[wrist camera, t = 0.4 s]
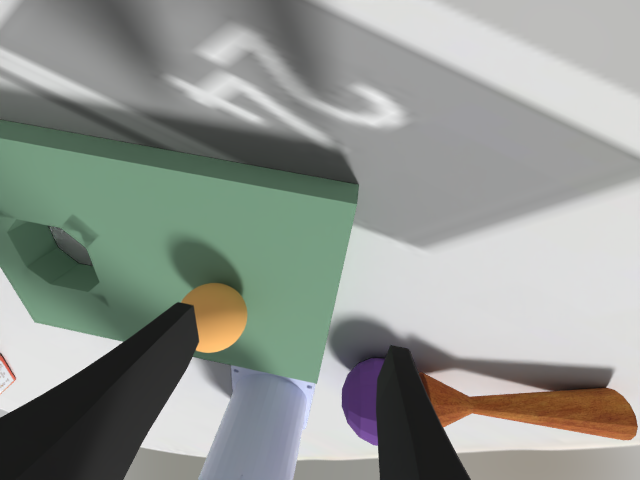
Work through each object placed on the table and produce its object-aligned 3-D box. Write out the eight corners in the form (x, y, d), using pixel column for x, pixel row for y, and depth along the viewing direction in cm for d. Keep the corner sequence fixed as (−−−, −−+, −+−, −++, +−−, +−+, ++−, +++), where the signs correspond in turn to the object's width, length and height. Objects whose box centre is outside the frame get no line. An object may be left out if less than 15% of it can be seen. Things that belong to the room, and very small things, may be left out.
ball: (256, 320, 20) (233, 373, 17) (200, 308, 20) (166, 359, 17) (256, 276, 18) (230, 328, 15) (193, 263, 18) (154, 311, 15)
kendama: (614, 471, 21) (340, 452, 23) (570, 386, 26) (341, 374, 27) (681, 453, 17) (342, 430, 19) (614, 355, 22) (343, 343, 23)
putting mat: (321, 356, 25) (316, 383, 23) (60, 300, 27) (34, 322, 24) (358, 184, 16) (357, 204, 14) (-36, 113, 18) (-90, 121, 16)
